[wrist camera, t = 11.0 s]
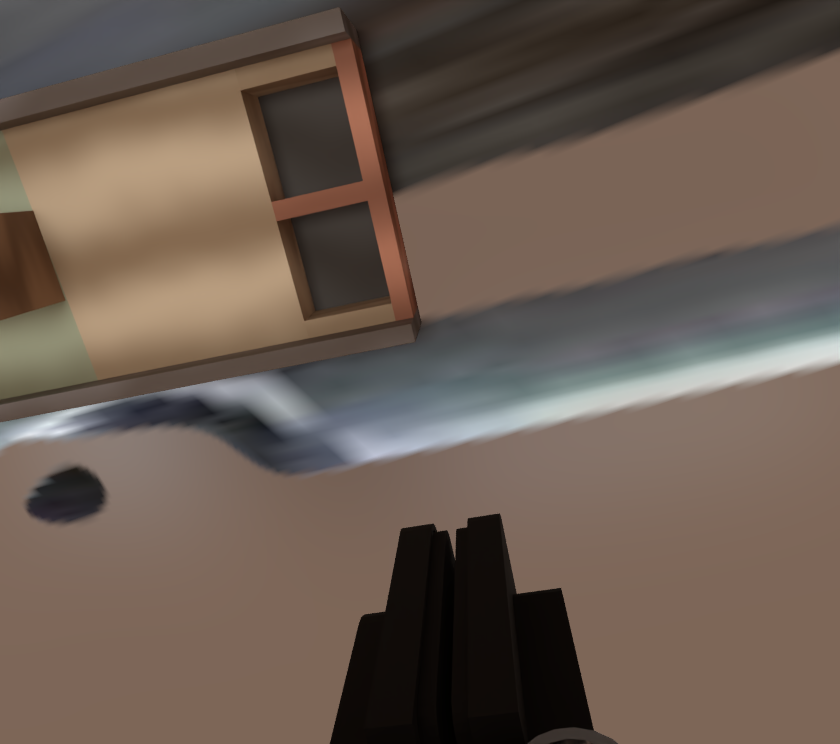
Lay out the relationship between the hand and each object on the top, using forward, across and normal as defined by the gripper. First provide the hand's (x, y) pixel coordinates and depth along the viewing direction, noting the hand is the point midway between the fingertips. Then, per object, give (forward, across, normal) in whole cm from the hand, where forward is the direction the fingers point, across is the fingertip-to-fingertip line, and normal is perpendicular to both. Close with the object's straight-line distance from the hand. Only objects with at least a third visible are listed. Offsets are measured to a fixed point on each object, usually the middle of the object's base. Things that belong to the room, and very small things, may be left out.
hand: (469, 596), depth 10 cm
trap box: (+27, +17, -7) cm, 33 cm away
